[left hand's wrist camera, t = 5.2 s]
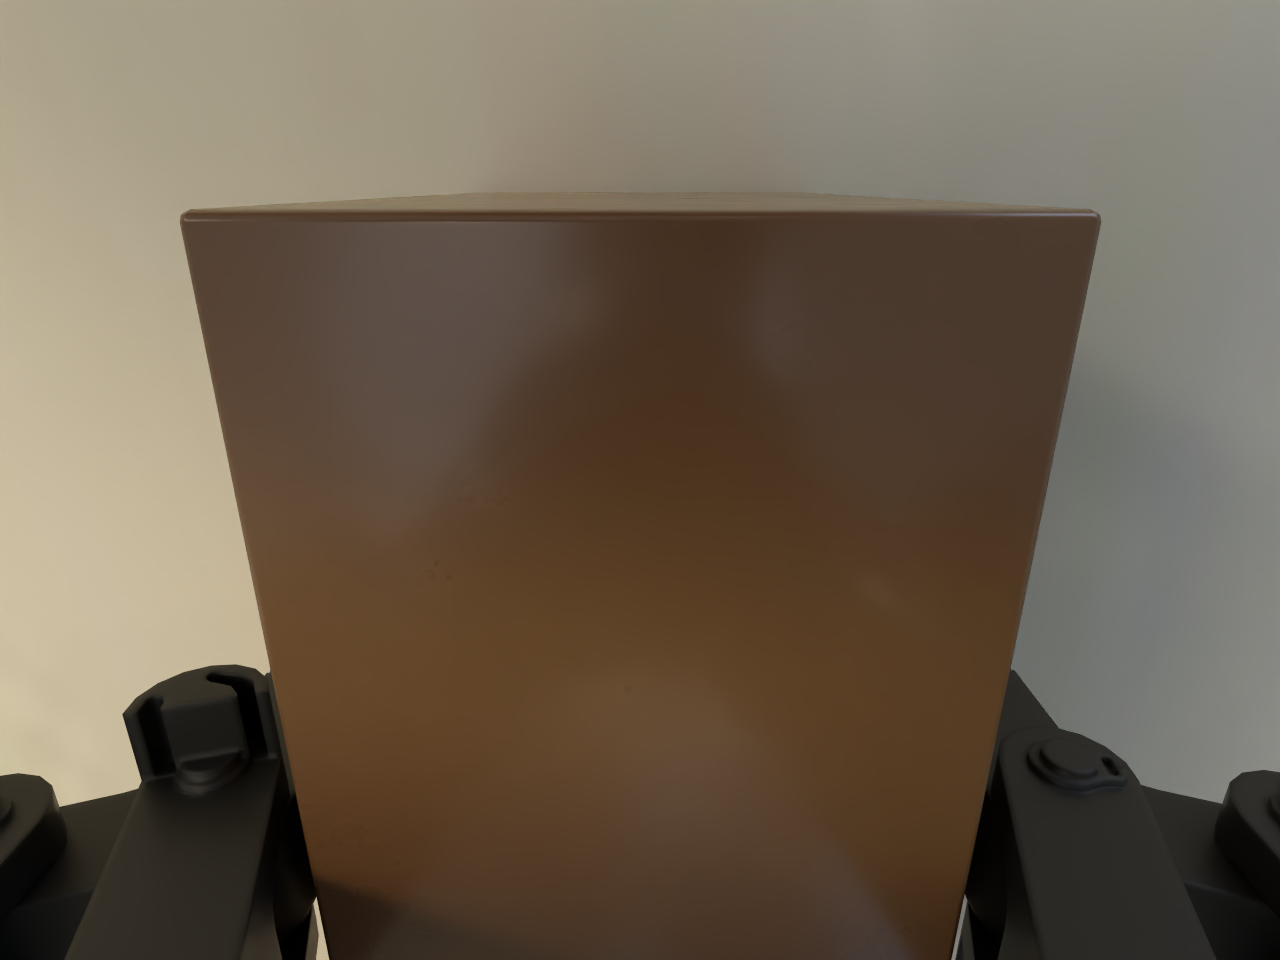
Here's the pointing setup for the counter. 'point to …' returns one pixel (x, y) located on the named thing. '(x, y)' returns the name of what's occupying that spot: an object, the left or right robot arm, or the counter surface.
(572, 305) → the bar
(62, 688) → the counter surface
